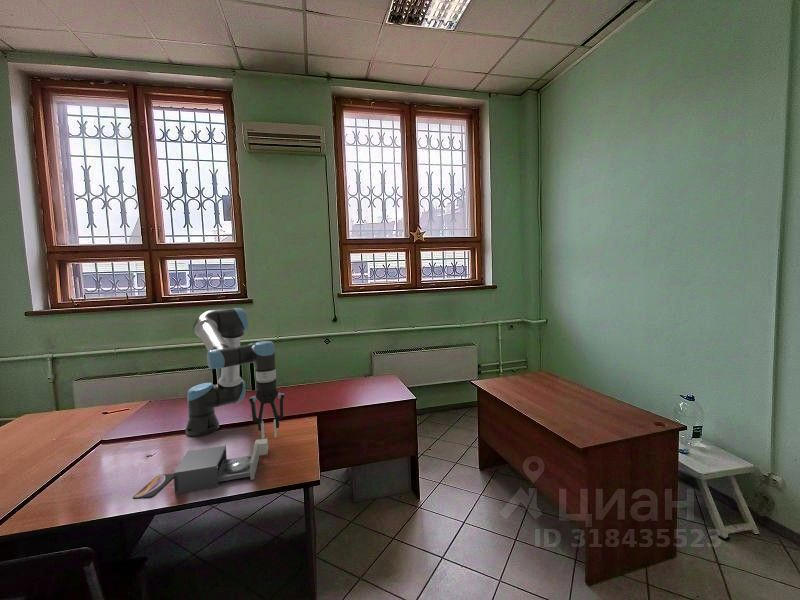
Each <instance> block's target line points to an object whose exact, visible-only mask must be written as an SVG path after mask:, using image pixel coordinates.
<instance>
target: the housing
mask: <svg viewBox="0 0 800 600" xmlns="http://www.w3.org/2000/svg"><path fill="white" fill-rule="evenodd" d="M226 445H227V444H226ZM226 445H225V444H224V445H219V446H213V447H211V446H210V447H206V448H199V449H193V450H187V452H186V453H185V455H184V456H183V458H182V459H181V461H179V464H178V465H177V467H176V468H175V469H174V472H173V473H172V474H174V478H173V487H174V495H180V494H186V493H191V492H197V491H203V490H207V489H213V488H218V487H219V485H220V483H221V482H218V469H219V467H220V465H221V462H222V460H226V459H228V458H227V446H226Z"/></svg>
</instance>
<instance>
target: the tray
mask: <svg viewBox="0 0 800 600" xmlns="http://www.w3.org/2000/svg"><path fill="white" fill-rule="evenodd" d="M254 444H255V443H254ZM244 457H247V458H249V459H250V467H249V468H248V469H246V470H244V471H242V472H239V473H227V472H226V467H225V465H226V463H228V462H229V461H231V460H233V459H235V458H236V457H233V458H227V459H226V460H222V462H221V465H220V467H219V469H218V482H220V483H221V482H224V481H225V482H226V481H231V480H238V479H242V478H249V477H250V481H252V480H255V476H256V473H257V468H258V465H259V464H258V463H259V461H260V456H259V450H258V443H256V444H255V446H253V450H252V454H251V455H246V456H245V455H244Z"/></svg>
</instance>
